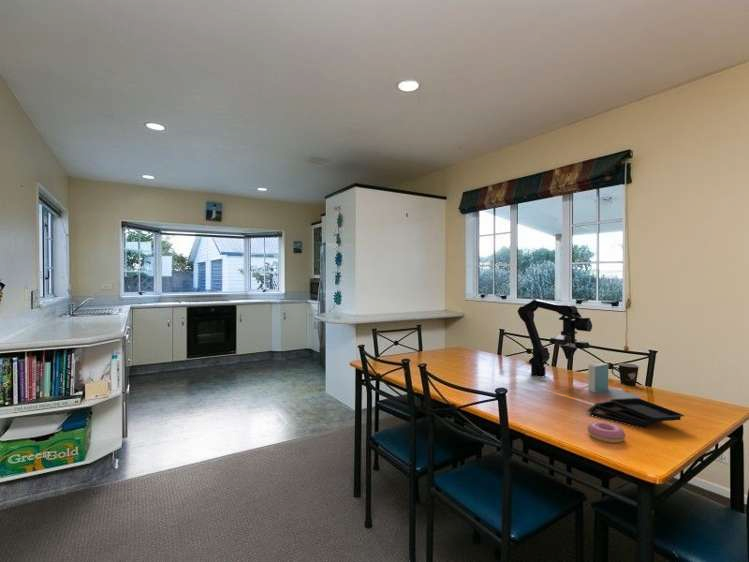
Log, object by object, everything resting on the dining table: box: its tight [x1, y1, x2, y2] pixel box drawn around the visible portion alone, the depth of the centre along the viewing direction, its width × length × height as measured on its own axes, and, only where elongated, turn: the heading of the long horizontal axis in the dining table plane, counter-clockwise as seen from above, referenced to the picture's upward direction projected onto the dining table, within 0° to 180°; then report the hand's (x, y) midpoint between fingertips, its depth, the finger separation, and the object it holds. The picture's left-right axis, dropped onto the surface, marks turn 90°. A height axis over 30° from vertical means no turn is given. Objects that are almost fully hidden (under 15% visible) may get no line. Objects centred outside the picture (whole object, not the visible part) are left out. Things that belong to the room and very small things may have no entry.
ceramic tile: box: [587, 362, 610, 392], centre depth 179 cm, size 3×11×12 cm, turn 119°
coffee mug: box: [611, 362, 640, 387], centre depth 192 cm, size 12×9×10 cm
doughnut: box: [587, 421, 626, 444], centre depth 128 cm, size 11×11×4 cm
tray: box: [587, 397, 685, 429], centre depth 145 cm, size 30×23×5 cm
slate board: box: [582, 387, 643, 400], centre depth 173 cm, size 18×16×1 cm
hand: (568, 359), depth 194 cm, fingers closed
